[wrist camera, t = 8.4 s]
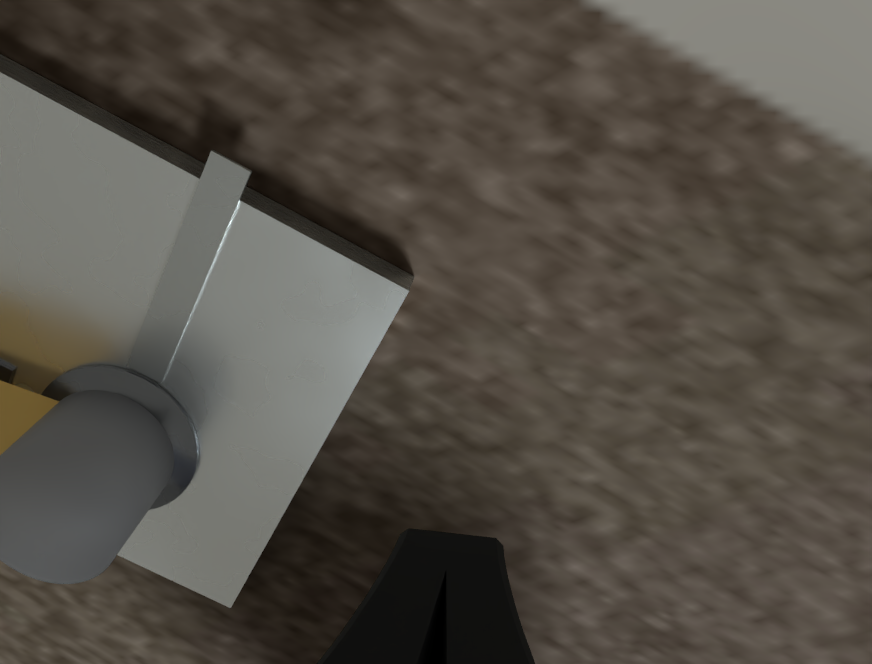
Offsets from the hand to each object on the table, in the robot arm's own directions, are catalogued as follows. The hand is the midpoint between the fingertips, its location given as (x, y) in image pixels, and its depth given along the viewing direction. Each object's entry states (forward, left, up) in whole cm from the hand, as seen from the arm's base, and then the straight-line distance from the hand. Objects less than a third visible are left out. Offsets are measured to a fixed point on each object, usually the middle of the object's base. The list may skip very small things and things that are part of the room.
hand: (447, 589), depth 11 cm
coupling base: (-6, +10, -10) cm, 15 cm away
